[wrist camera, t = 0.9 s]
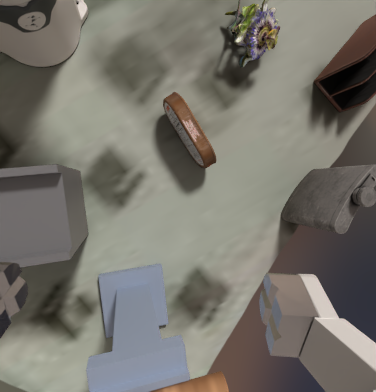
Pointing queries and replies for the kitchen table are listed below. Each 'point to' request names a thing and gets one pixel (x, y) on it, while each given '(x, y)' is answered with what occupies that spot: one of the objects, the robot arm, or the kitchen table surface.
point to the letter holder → (352, 70)
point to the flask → (331, 197)
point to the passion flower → (255, 30)
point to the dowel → (199, 384)
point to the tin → (189, 130)
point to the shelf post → (136, 335)
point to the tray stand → (41, 214)
